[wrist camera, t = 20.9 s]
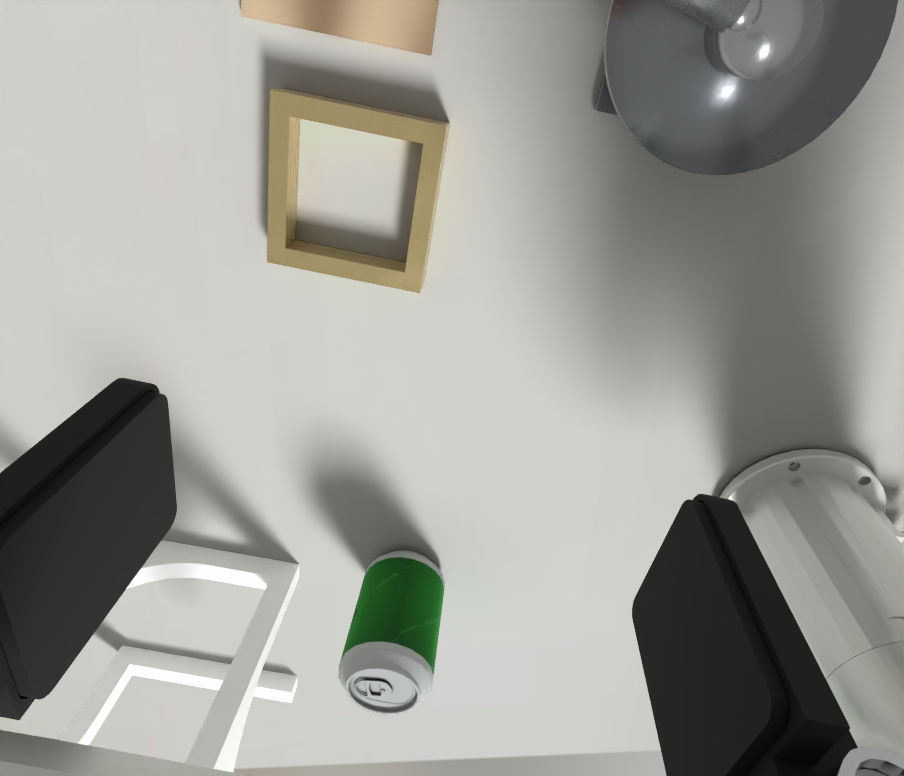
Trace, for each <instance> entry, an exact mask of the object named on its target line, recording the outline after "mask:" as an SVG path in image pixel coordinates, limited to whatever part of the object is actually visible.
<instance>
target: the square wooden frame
mask: <svg viewBox="0 0 904 776" xmlns="http://www.w3.org/2000/svg"><path fill="white" fill-rule="evenodd" d="M300 119H305V120H310V121H315V122H320V123H324V124H329V125H334V126H339V127H344V128H349V129H354V130H358V131H363V132H368V133H373V134H378V135H383V136H388V137H392V138H397V139H402V140H407V141H412V142H417V143H421V144H423V148H422V155H421V162H420V169H419V176H418V183H417V190H416V197H415V204H414V211H413V218H412V225H411V232H410V239H409V246H408V253H407V260H406V262H401V261H396V260H391V259H386V258H381V257H376V256H371V255H366V254H362V253H357V252H352V251H347V250H342V249H337V248H332V247H327V246H322V245H317V244H312V243H308V242H303V241H298V240H295V232H296V207H297V182H298V158H299V133H300ZM449 124H450V123H448V122H444V121H439V120H434V119H429V118H424V117H419V116H415V115H410V114H405V113H400V112H395V111H390V110H386V109H381V108H376V107H371V106H366V105H361V104H357V103H352V102H347V101H342V100H337V99H332V98H328V97H323V96H318V95H313V94H308V93H303V92H299V91H294V90H289V89H284V88H278V89H270V105H269V169H268V233H267V262H269V263H274V264H279V265H284V266H289V267H294V268H299V269H304V270H309V271H314V272H318V273H323V274H328V275H333V276H338V277H343V278H348V279H353V280H358V281H363V282H368V283H373V284H378V285H382V286H387V287H392V288H397V289H402V290H407V291H412V292H417V293H420V292H421V289H422V286H423V284H424V279H425V273H426V267H427V260H428V254H429V248H430V242H431V236H432V229H433V223H434V217H435V211H436V205H437V199H438V192H439V186H440V180H441V174H442V168H443V162H444V155H445V149H446V143H447V137H448V131H449Z"/></svg>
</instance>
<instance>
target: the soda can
mask: <svg viewBox="0 0 904 776" xmlns="http://www.w3.org/2000/svg"><path fill="white" fill-rule="evenodd" d="M444 586H445V582H444V579H443V575H442V573H441V572H440V570H439V569H438V568H437V566H436V565H435V564H433V563H432V562H431V561H430V560H429V559H428V558H426V557H425V556H424V555H421V554H419V553H416V552H413V551H407V550H399V551H393V552H390V553H387V554H385V555H382V556H379V557H378V558H376V559H375V560H374V561H373V562H371V563H370V565H369V567H368V569H367V571H366V573H365V577H364V580H363V584H362V587H361V591H360V594H359V598H358V601H357V605H356V608H355V612H354V615H353V619H352V623H351V626H350V630H349V633H348V637H347V640H346V644H345V647H344V651H343V654H342V658H341V661H340V665H339V679H340V681H341V683H342V685H343V687H344V689H345V690H346V692H347V694H348V697H349V698H350V699H351V700H352V701H353V702H354V703H355V704H357V705H358V706H360V707H362V708H363V709H365V710H368V711H371V712H374V713H379V714H385V715H389V714H400V713H404V712H407V711H409V710H411V709H413V708H414V707H415V706H416V705H417V704H418V703H419V702H421V701H423V700H424V699H425V698H426V697H427V696H428V694H429V693H430V692H431V688H432V682H433V674H434V666H435V658H436V650H437V642H438V634H439V626H440V618H441V610H442V602H443V594H444Z"/></svg>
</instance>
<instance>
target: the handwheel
mask: <svg viewBox="0 0 904 776" xmlns="http://www.w3.org/2000/svg"><path fill="white" fill-rule="evenodd" d="M897 2H898V0H611V4H610V7H609V12H608V17H607V22H606V27H605V38H604V67H605V74H606V81H607V86H608V89H609V93H610V96H611V100H612V102H613V105H614V107H615V109H616V111H617V114H618V116H619V118H620V119H621V121H622V122H623V124H624V126H625V127H626V129H627V130H628V131H629V133H630V134H631V135H632V136H633V137H634V139H635V140H636V141H637V142H638V143H639V144H641V145H642V146H643V147H644V148H645V149H646V150H647V151H649V152H650V153H652V154H653V155H655V156H656V157H658V158H659V159H661V160H663V161H664V162H666V163H668V164H670V165H673V166H675V167H677V168H679V169H683V170H687V171H690V172H694V173H701V174H709V175H728V174H735V173H742V172H747V171H750V170H754V169H758V168H762V167H764V166H767V165H769V164H772V163H774V162H777V161H779V160H781V159H783V158H785V157H787V156H789V155H791V154H792V153H794V152H796V151H798V150H799V149H801V148H802V147H804V146H805V145H807V144H808V143H810V142H811V141H813V140H814V139H815V138H816V137H817V136H819V135H820V134H821V133H822V132H824V131H825V130H826V129H827V128H828V127H829V126H830V125H831V124H832V123H833V122H834V121H835V120H836V119H837V118H838V117H839V116H840V115H841V114H842V113H843V112H844V111H845V110H846V109H847V107H848V106H849V105H850V104H851V103H852V101H853V100H854V99H855V98H856V96H857V95H858V94H859V92H860V91H861V89H862V88H863V86H864V85H865V83H866V82H867V80H868V79H869V77H870V75H871V74H872V72H873V70H874V68H875V66H876V64H877V62H878V61H879V59H880V57H881V54H882V52H883V49H884V47H885V45H886V42H887V40H888V37H889V34H890V31H891V27H892V24H893V21H894V17H895V13H896V8H897Z"/></svg>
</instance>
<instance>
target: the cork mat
mask: <svg viewBox="0 0 904 776" xmlns="http://www.w3.org/2000/svg"><path fill="white" fill-rule="evenodd" d="M438 1H439V0H241V16H243V17H248V18H253V19H258V20H263V21H267V22H272V23H277V24H282V25H287V26H291V27H296V28H301V29H306V30H311V31H315V32H320V33H325V34H330V35H335V36H339V37H344V38H349V39H354V40H359V41H363V42H368V43H373V44H378V45H383V46H387V47H392V48H397V49H402V50H407V51H411V52H416V53H421V54H426V55H431V52H432V44H433V37H434V30H435V23H436V16H437V8H438Z"/></svg>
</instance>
